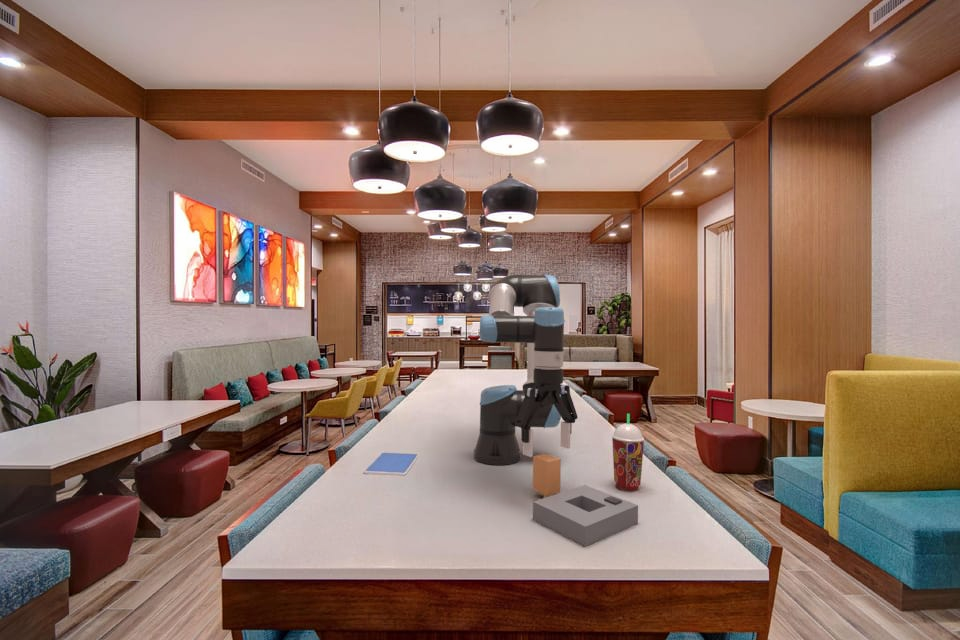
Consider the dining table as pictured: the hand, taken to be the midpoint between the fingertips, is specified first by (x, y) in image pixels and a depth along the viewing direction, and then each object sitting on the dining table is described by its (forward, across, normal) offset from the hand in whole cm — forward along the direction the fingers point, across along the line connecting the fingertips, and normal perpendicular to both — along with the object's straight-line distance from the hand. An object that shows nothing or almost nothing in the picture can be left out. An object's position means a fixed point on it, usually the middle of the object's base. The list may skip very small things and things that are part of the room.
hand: (547, 451), depth 114 cm
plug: (+12, 0, 0) cm, 12 cm away
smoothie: (+12, +23, -8) cm, 27 cm away
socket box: (+12, -3, -15) cm, 19 cm away
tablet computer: (+12, -20, +46) cm, 52 cm away
